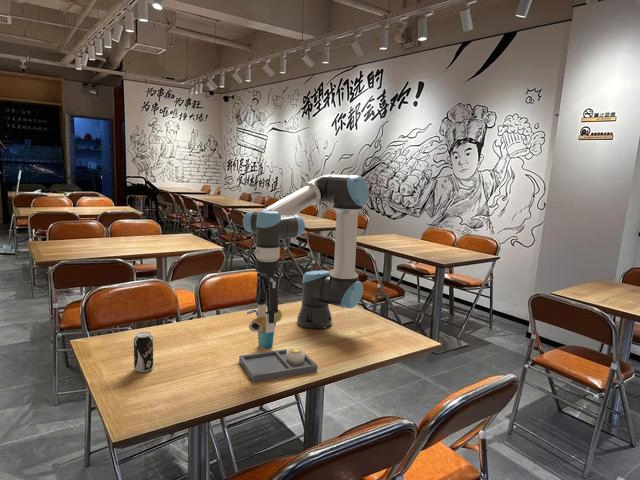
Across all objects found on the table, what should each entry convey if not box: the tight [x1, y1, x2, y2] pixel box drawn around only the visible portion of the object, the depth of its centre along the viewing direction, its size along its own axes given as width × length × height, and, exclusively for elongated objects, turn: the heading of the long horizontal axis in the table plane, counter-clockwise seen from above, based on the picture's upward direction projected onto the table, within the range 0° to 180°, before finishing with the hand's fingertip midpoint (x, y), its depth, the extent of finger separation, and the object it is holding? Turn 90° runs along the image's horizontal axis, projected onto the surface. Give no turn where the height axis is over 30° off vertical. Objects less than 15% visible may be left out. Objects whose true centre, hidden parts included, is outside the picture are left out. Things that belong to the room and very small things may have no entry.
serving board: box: [238, 346, 318, 383], centre depth 149 cm, size 16×22×5 cm
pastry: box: [248, 317, 277, 333], centre depth 145 cm, size 9×7×4 cm
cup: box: [246, 309, 283, 350], centre depth 164 cm, size 14×8×15 cm, turn 125°
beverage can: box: [133, 331, 154, 373], centre depth 142 cm, size 6×6×12 cm
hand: (265, 327), depth 145 cm, fingers closed on pastry, 8 cm apart
